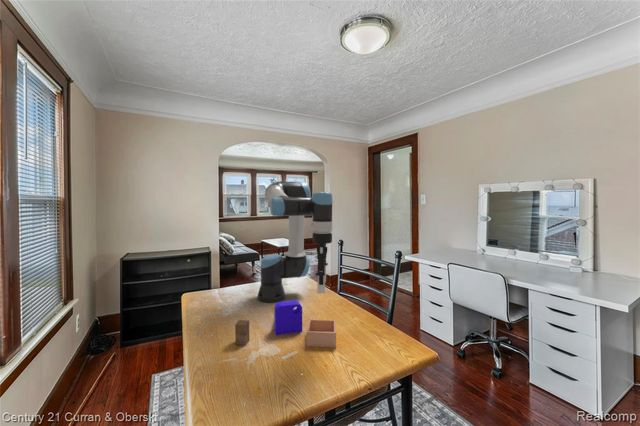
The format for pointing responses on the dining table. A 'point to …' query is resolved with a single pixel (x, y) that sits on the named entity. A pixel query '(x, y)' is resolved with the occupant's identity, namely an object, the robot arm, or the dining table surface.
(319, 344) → the planter
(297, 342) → the dining table surface
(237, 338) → the walnut post
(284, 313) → the bracket
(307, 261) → the robot arm
